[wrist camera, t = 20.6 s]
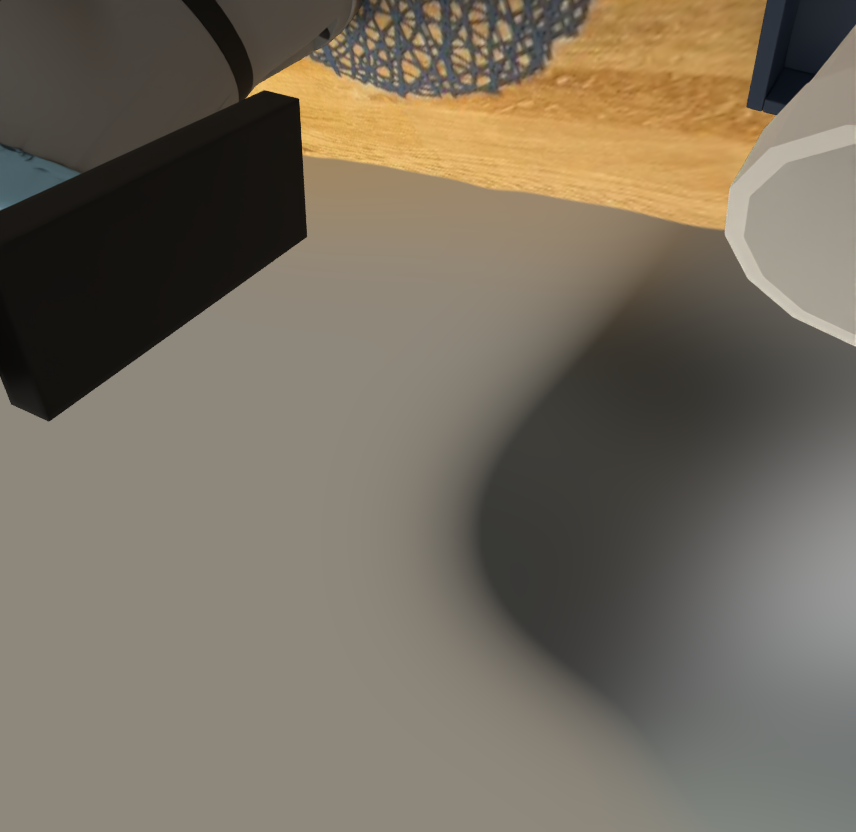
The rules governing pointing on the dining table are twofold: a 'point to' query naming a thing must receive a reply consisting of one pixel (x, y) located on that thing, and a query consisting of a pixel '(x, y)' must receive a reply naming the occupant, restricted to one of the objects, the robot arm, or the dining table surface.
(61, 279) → the robot arm
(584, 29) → the dining table surface
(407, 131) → the dining table surface
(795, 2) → the tray
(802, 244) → the foam cup
